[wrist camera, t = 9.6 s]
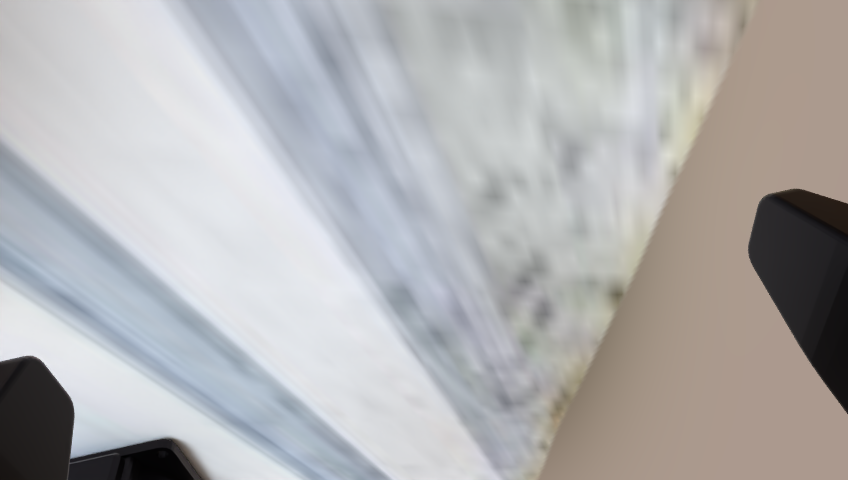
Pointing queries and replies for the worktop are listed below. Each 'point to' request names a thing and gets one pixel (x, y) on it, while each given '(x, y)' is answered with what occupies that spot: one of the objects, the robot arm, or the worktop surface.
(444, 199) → the worktop surface
